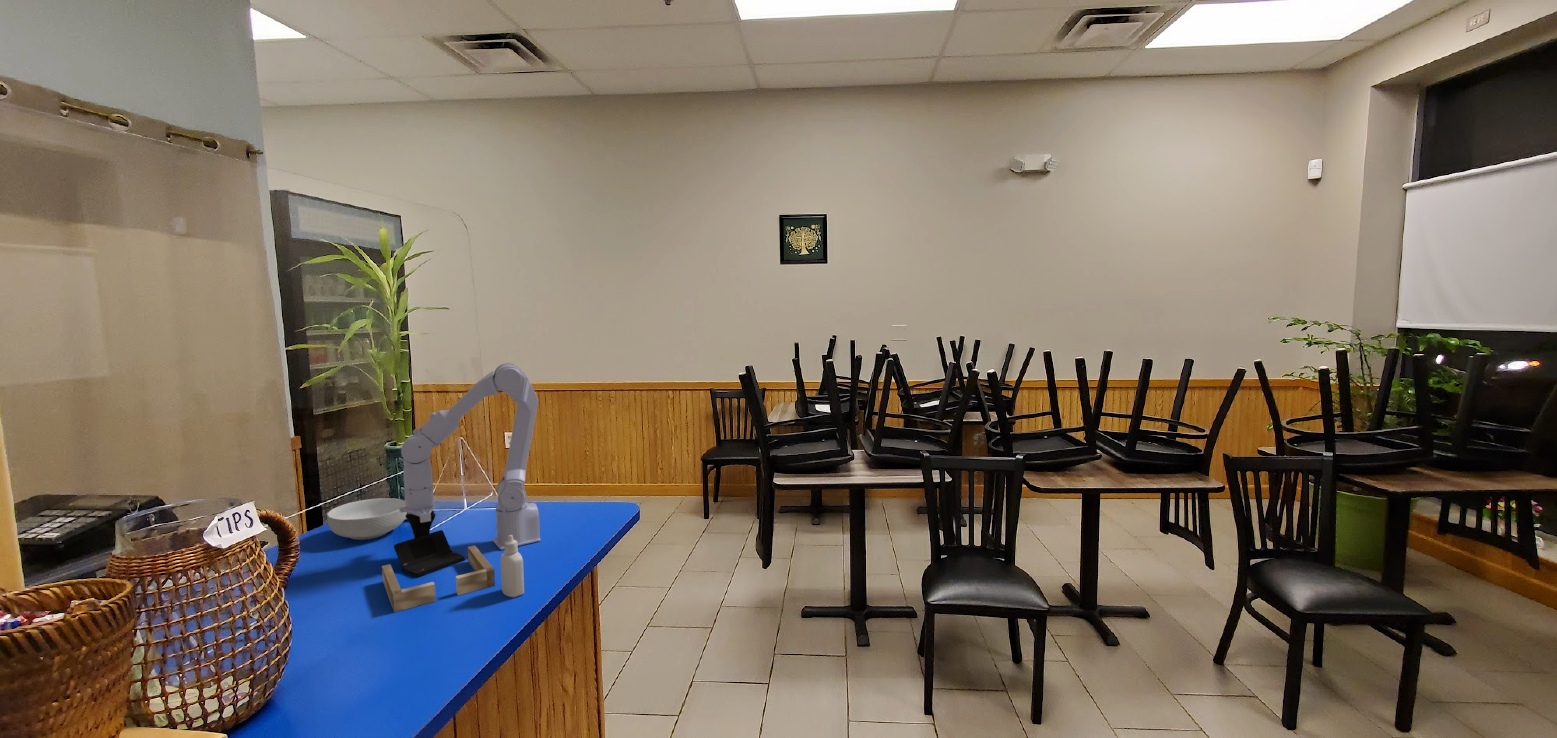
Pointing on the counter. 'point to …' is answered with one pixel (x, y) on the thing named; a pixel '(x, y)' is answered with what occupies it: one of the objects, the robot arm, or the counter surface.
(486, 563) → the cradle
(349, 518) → the cereal bowl
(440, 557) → the handheld gaming console
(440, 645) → the counter surface
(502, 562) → the eye dropper bottle
